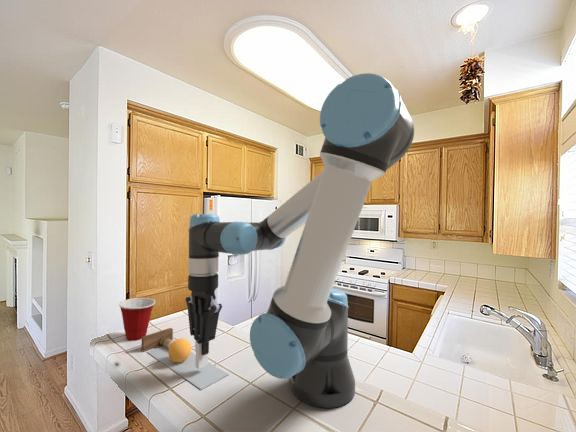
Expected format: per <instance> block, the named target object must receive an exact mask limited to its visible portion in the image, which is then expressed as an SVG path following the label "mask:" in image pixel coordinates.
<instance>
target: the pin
mask: <svg viewBox="0 0 576 432" xmlns="http://www.w3.org/2000/svg"><path fill="white" fill-rule="evenodd" d="M174 341H175V340H174V339H173V340H171V339H169V338H166V337H163V338H161V340H160V345H161V347H162V346H164V347H166V348H169V347H170V345H171V344H172V343H173V342H174Z"/></svg>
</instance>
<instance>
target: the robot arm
mask: <svg viewBox="0 0 576 432" xmlns="http://www.w3.org/2000/svg"><path fill="white" fill-rule="evenodd" d="M414 124H415V123H414V121H413V118H412V116H411V114H410V113H409V112H408V110H407V108H406V106H405V104H404V102H403V100H402V96H401V95H400V92H399V91H398V89H397V88H396V87H395V86H394V85H393V84H392V83H391V82H390V81H389V80H388V79H387V78H385V77H384V76H382V75H380V74H376V73H369V72H368V73H367V72H366V73H359V74H355V75H352V76H350V77H348V78H346V79H344V81H343V82H342V83H341V82H340V83H339V84H337V85H336V86H335V87H334V88H333V89H332V90H331V91H330V92H329V94H327V97H326V98H325V99H324V101H323V103H322V105H321V109H320V113H319V126H320V127H321V131H322V135H323V136H324V141H323V143H322V147H321V149H320V152H319V156H320V158H321V162H322V163H323V166H324V168H323V170H322V171H321V172H320V173H318V175H316V176H314V178H313V179H312V180H310V181H309V182H308V183H306V184H305V185H304V186H303V187H302V188H300V189H299V190H298V191H297V192H296V193H294V194H293V195H292V196H291V197H290V198H289V199H287V200H286V201H285V202H283V204H281V205H280V206H279V207H278V208H276V209H275V210H274V211H273V212H271V214H269V215H267V217H265V218H264V219H263V220H261V221H260V222H259V221H258V222H246V221H245V222H244V221H228V222H227V221H226V222H224V221H223V222H220V216H219V215H217V214H205V213H203V214H199V213H198V214H197V213H196V214H192V215H191V216H190V218H189V227H188V260H187V261H188V263H187V265H188V267H187V268H188V269H187V273H188V274H189V275H188V276H187V289H188V291H190V296H186V297H185V303H186V306H187V312H188V313H187V314H188V315H187V316H188V324H189V325H188V326H189V334H190V336H193V339H194V341H195V355H196V362H195V367H196V368H198V369H200V368H202V367H204V366H206V365H208V362H209V352H210V342H211V341H213V340H215V338H216V333H217V329H218V328H217V327H218V322H219V317H220V312H221V310H222V308H223V305H222V303H218V302H217V301H216V298H217V297H216V293H215V291H216V289H218V288H219V274H218V272H219V256H220V253H223V254H231V255H233V256H236V255H237V256H238V255H248V254H250V253H251V252H255V251H256V252H257V251H268V250H269V251H271V250H274V249H278V248H280V247H281V246H283V245H284V243H285V241H286V238H288V236H290V235H291V234H293V233H294V232H295V231H296V230H298V229H299V228H301V227H302V226H304V227H303V230H302V232H301V236H300V239H299V241H298V244H297V249H296V251H295V254H294V257H293V260H292V263H291V266H290V268H289V271H288V275H287V278H286V280H285V283H284V285H283V286H280V287H278V288H276V289H275V290H274V292H273V295H272V297H271V300H270V303H269V307H268V309H267V311H266V312H264V313H261V314H259V315H258V316H257V317H255V319H254V320H253V322H252V324H251V326H250V330H249V342H250V346H251V349H252V352H253V355H254V357H255V359H256V361H257V363H258V364H259V366H260V367H261V368H262V369H263V371H266V373H268V374H269V375H270V376H272V377H274V378H277V379H279V380H280V379H285V380H287V379H290V390H291V392H292V393H293V395H294V396H295V397H296V398H297V399H298V400H300V401H301V402H303V403H304V404H307V405H310V406H313V407H316V408H324V409H325V408H327V409H328V408H329V409H330V408H331V409H332V408H338V407H341V406H342V407H343V406H344V405H346V404H348V403H349V402H351V401H352V400H353V398H354V397H355V394H356V380H355V375H354V372H353V368H352V365H351V362H350V359H349V356H348V348H349V347H348V345H349V344H348V340H349V339H348V338H349V337H348V335H349V333H348V328H349V323H348V322H349V321H348V320H349V319H348V318H349V314H348V313H349V305H348V296H347V294H346V293H345V292H344V291H342V290H340V289H335V288H334V285H335V282H336V280H337V276H338V274H339V271H340V268H341V266H342V263H343V260H344V258H345V255H346V253H347V249H348V248H349V245H350V241H351V240H352V236H353V234H354V231H355V228H356V225H357V223H358V220H359V217H360V214H361V212H362V210H363V207H364V204H365V202H366V199H367V196H368V194H369V191H370V188H371V186H372V183H373V182H374V181H375V180H377V179H379V178H381V177H383V176H385V174H386V173H387V170H388V169H390V168H392V167H393V166H394V165H395V164H397V163H398V162H399V161H400V160H401V159H402V158H403V157H404V156H405V155H406V154H407V152H408V151H409V149H410V148H411V146H412V144H413V141H414V137H415V126H414Z"/></svg>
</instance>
